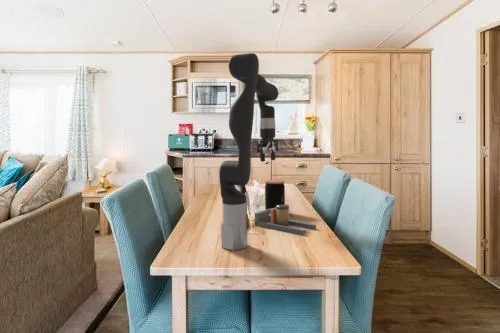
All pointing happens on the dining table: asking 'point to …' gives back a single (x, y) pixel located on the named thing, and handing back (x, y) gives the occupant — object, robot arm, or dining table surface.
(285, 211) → the spice jar
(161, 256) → the dining table surface
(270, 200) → the coffee jar
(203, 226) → the dining table surface
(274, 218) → the plate
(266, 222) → the lane
